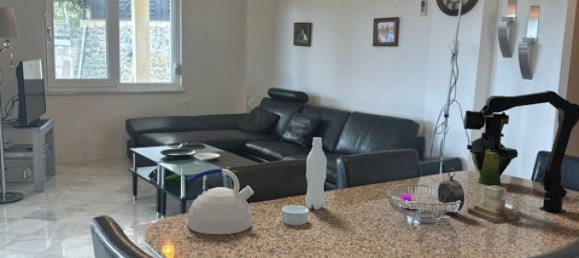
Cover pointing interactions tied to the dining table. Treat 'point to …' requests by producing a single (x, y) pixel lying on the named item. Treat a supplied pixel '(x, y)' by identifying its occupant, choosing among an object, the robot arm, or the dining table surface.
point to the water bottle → (316, 175)
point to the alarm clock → (451, 191)
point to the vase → (490, 165)
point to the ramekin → (295, 215)
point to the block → (494, 197)
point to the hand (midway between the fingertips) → (489, 172)
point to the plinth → (493, 219)
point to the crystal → (406, 197)
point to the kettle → (220, 208)
